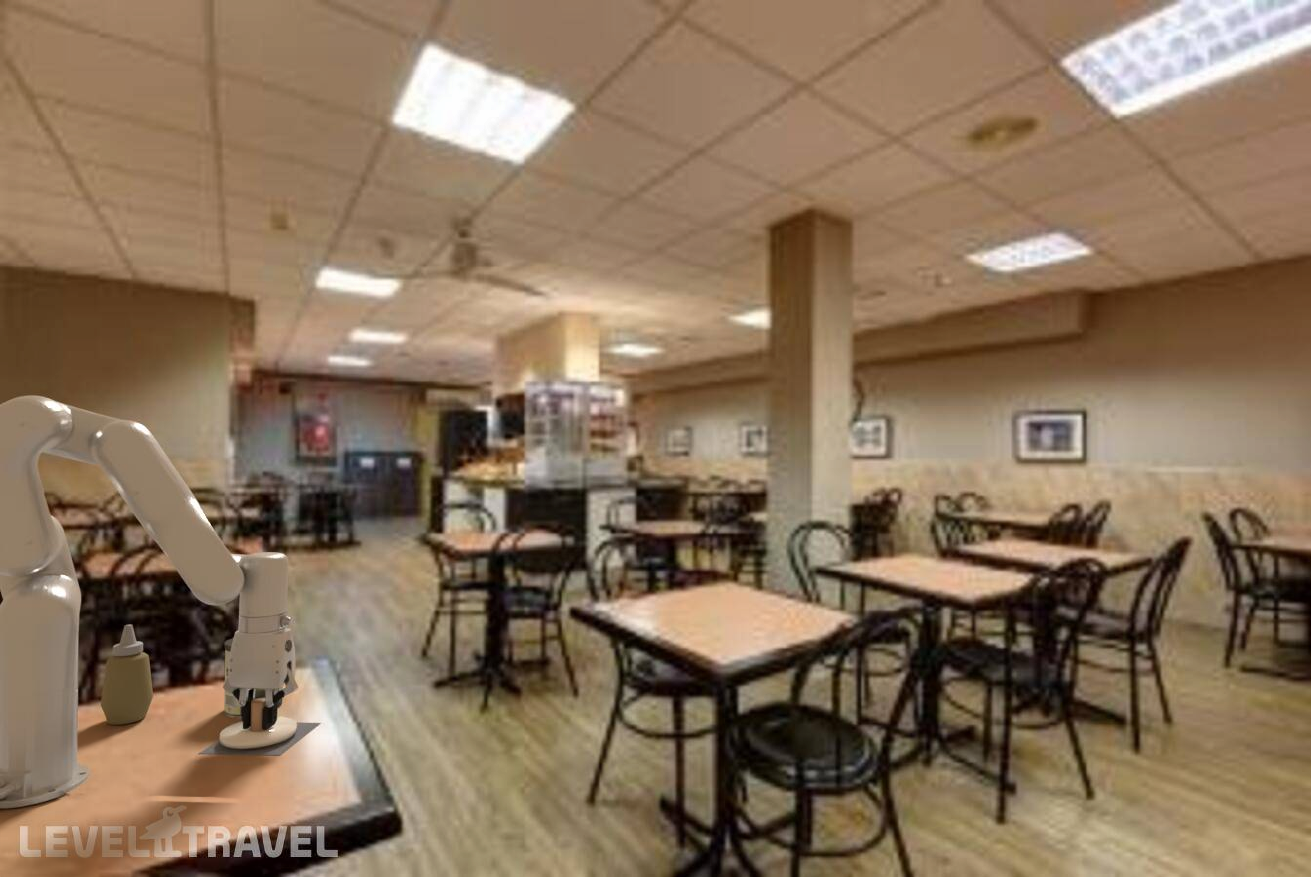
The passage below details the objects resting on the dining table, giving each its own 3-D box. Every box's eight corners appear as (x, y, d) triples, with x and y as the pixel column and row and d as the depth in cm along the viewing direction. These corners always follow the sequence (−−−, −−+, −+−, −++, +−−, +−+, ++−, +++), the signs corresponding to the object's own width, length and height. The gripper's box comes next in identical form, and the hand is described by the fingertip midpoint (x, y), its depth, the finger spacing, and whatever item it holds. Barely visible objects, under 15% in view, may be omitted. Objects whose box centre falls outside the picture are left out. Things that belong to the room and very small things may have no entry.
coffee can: (293, 701, 148) (294, 632, 148) (264, 721, 137) (265, 647, 137) (243, 700, 148) (244, 632, 148) (211, 720, 137) (212, 646, 138)
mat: (279, 759, 121) (279, 755, 121) (198, 757, 121) (198, 753, 121) (320, 726, 135) (321, 723, 135) (247, 724, 135) (247, 721, 135)
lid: (273, 750, 122) (275, 714, 122) (203, 747, 122) (205, 712, 122) (309, 723, 134) (310, 690, 134) (245, 720, 134) (246, 688, 134)
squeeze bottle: (160, 717, 138) (162, 624, 138) (111, 731, 132) (112, 633, 132) (141, 708, 143) (142, 618, 143) (92, 722, 136) (94, 626, 136)
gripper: (318, 619, 132) (314, 720, 131) (231, 616, 132) (227, 717, 132) (296, 629, 124) (293, 737, 124) (204, 626, 125) (200, 733, 124)
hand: (259, 725), depth 128 cm, fingers closed on lid, 2 cm apart
